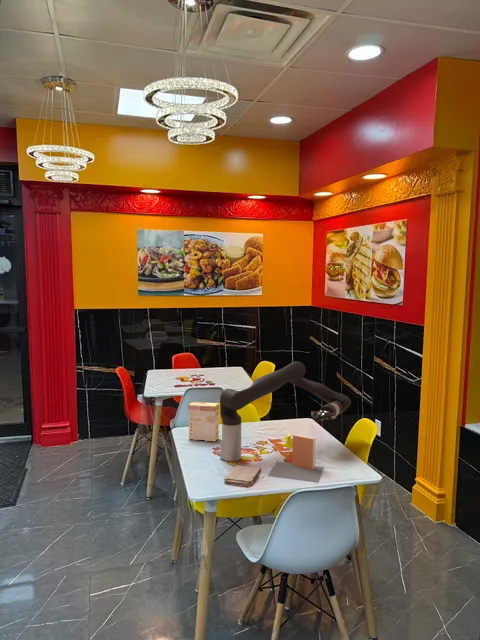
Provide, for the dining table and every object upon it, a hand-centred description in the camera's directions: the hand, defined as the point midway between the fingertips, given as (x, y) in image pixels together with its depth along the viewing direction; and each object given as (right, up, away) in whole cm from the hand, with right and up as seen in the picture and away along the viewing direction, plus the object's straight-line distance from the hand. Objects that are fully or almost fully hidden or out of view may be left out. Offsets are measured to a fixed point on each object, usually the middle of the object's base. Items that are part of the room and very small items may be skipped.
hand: (316, 419), depth 225 cm
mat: (-11, -21, -15) cm, 28 cm away
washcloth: (-35, -22, -20) cm, 46 cm away
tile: (-7, -20, -10) cm, 23 cm away
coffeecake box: (-56, -17, +30) cm, 65 cm away
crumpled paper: (-10, -19, +18) cm, 28 cm away
